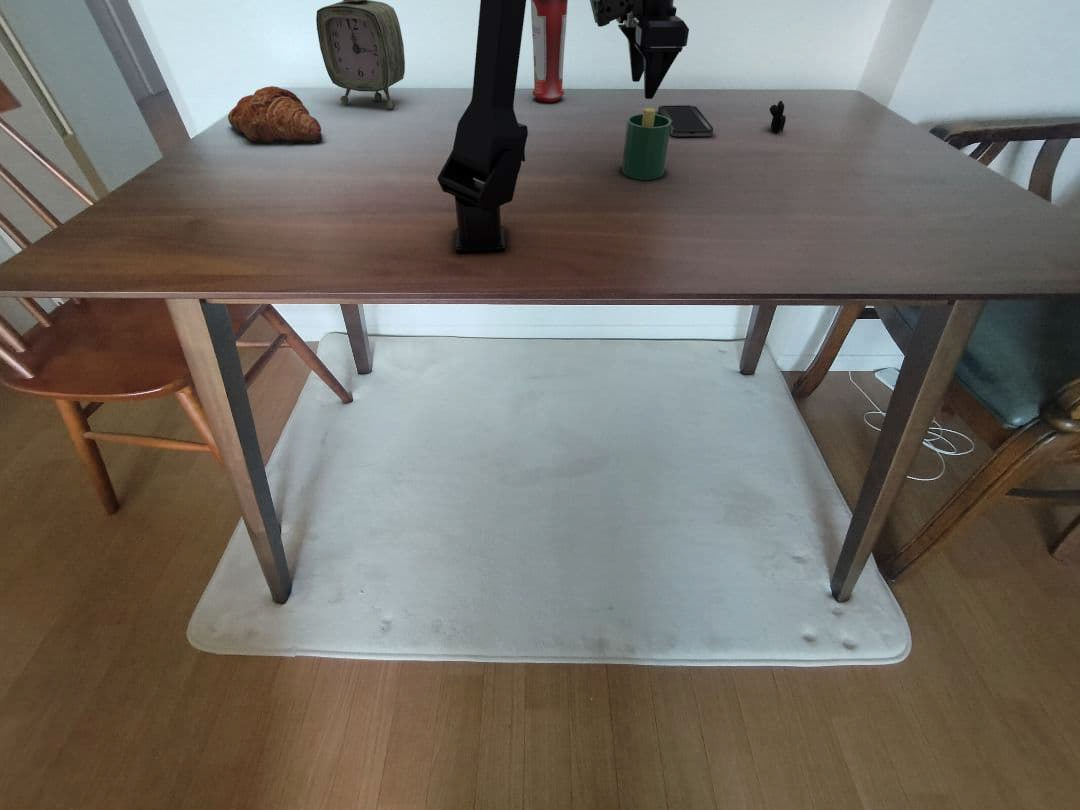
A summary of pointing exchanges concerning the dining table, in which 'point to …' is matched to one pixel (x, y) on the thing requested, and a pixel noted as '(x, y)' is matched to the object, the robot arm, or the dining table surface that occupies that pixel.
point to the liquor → (548, 48)
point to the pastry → (274, 117)
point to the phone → (686, 121)
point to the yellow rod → (648, 117)
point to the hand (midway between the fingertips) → (641, 89)
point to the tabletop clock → (361, 46)
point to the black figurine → (777, 117)
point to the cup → (645, 147)
